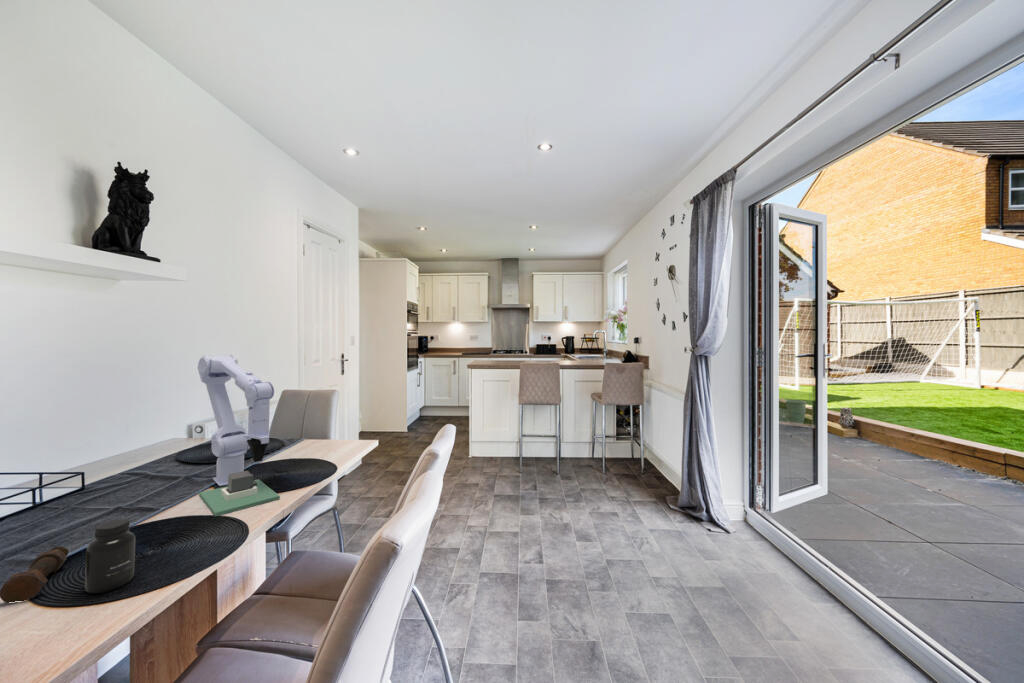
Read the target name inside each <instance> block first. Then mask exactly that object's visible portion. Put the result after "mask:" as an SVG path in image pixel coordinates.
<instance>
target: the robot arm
mask: <svg viewBox="0 0 1024 683" xmlns="http://www.w3.org/2000/svg"><path fill="white" fill-rule="evenodd" d="M238 362H239V361H238V358H236V357H235V356H234V355H231V354H230V355H215V356H214V355H211V356H210V355H209V356H206V355H202V356H201V357H200V359H199V360H198V363H197V371H198V374H199V377H200V381H201V383H203V384H205V386H206V389H207V393H208V397H209V400H210V404H211V407H212V410H213V415H214V417H215V418H214V419H215V421H216V425H217V430H216V431H215V432H214V433H213V434H212V435H211V437H210V441H211V452H212V454H213V455H214V456H215V457H216V458H217V459H216V474H215V476H214V477H212V480H213V481H214V482H215V483H216V484H217V486H219V487H222V486H223V487H224V486H228V475H229V474H232V473H238V472H243V471H245V454H246V453H247V451H248V450H249V449H250V452H251V456H252V461H253V462H254V463H258V462H262V461H263V458H264V455H265V453H266V452H265V451H266V450H267V447H268V445H269V444H270V441H271V440H270V406H271V404H270V402H271V401H270V400H271V399H273V397H274V395H275V387H274V385H273V384H272V383H271V382H270V381H262V380H261V379H260V378H259V377H257V376H256V375H255V374H253V372H252V371H245V370H244V369H242V367H240V365H239V364H238ZM231 379H234V384H235V386H237V387H238V389H240V390H241V391H243V393H244V398H245V400H246V406H247V407H248V415H247V416H248V418H247V419H248V421H247V425H248V426H247V430H246V427H243V426H241V425H239V424H237V421H236V419H235V414H234V412H233V408H232V405H231V402H230V399H229V394H228V390H227V388H226V383H227V382H228V381H230V380H231Z"/></svg>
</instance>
